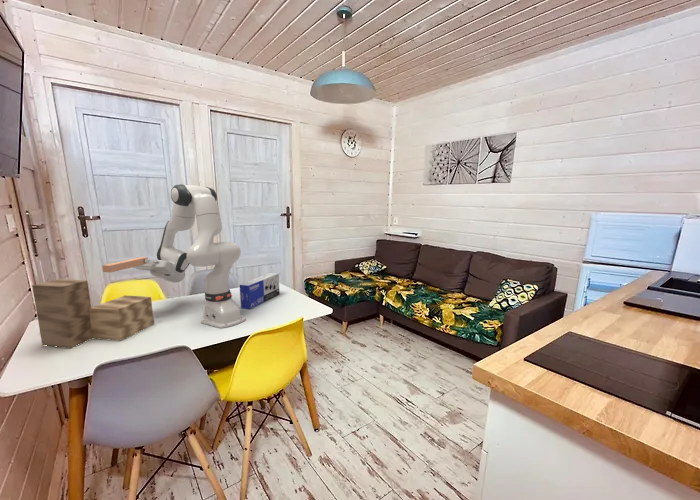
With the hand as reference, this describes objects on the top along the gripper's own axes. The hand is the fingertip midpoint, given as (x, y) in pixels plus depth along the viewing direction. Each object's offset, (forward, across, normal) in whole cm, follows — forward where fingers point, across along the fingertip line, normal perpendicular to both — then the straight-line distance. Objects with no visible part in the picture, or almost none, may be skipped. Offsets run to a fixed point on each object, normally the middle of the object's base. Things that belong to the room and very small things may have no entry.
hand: (139, 260), depth 146 cm
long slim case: (+5, 0, +5) cm, 7 cm away
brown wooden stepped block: (-1, -7, +35) cm, 36 cm away
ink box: (-49, +44, +8) cm, 66 cm away
